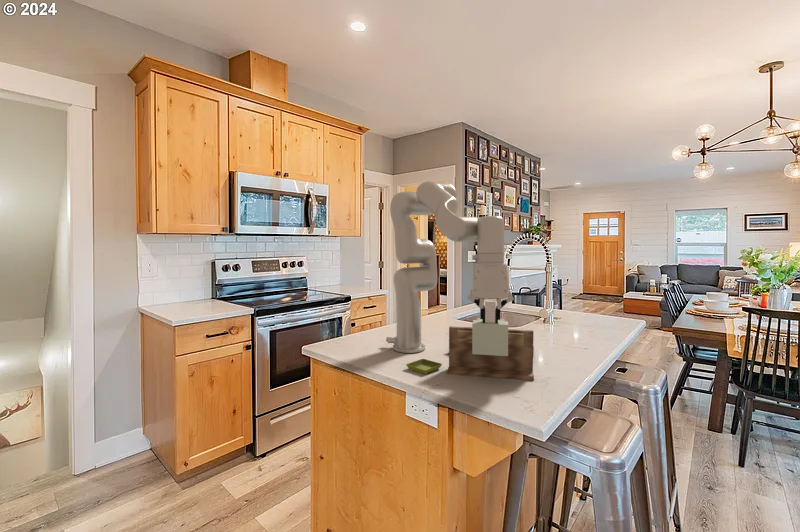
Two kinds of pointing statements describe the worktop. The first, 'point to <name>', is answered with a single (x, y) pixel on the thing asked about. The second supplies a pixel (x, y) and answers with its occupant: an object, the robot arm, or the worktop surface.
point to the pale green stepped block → (490, 333)
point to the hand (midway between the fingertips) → (490, 321)
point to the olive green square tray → (424, 366)
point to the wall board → (491, 356)
